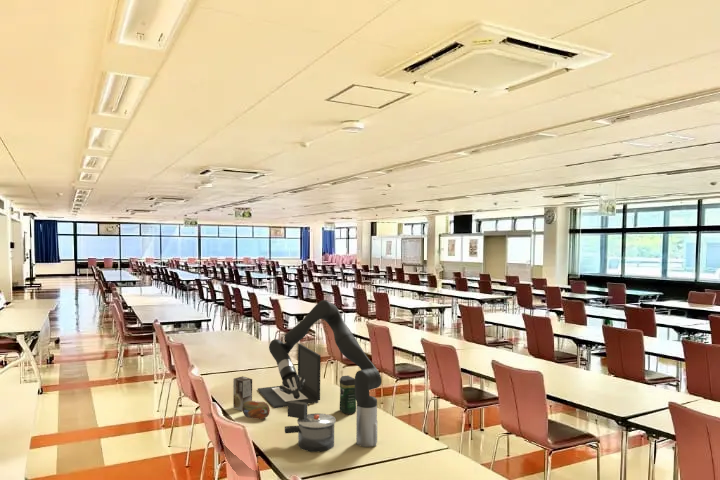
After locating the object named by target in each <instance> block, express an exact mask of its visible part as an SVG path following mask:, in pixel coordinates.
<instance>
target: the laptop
mask: <svg viewBox="0 0 720 480" xmlns="http://www.w3.org/2000/svg"><path fill="white" fill-rule="evenodd" d="M297 375H298V376H299V377H300V378H302V377H304V378H305V383H304V385H303V387H302V389H301V390H299V394H300V397H299V398H298V399H296V398H294V396H293V394H292V393H291V394H287V393H285V392H282V391H280V388H279V386H280V385H276V386H267V387H266V386H265V387H259V388H257V391H258V393H259V394H260V395H261V396H262V397H263V398H264V399H265V400H266V401H267V403H268V404H269V405H271V407H272V408H273V409H278V408H279V409H280V408H288V402H289V401H298V402H305V403H307V405H311V404H316V403H319V401H320V400H321V354H319V353H317V352H315V351H314V350H312V349H310V348H309V347H307V346H305V345H303V344H302V343H297ZM299 383H300V380H299ZM299 383H298V385H299ZM298 385H297V387H298ZM286 388H287V387H286ZM288 389H290V388H288ZM293 389H294V390H295V388H294V387H293Z"/></svg>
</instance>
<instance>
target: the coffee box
mask: <svg viewBox="0 0 720 480" xmlns="http://www.w3.org/2000/svg"><path fill="white" fill-rule="evenodd" d="M232 381H233V382H232V383H233V386H232V387H233V393H232V395H233V407H232V408H233V409H235V410H238V411H242V412H243V410H242V408H243V405H244V403H245V402H247V401H253V379H252V378H250V377H246V376H243V375H242V376H238V377H235V378H233V380H232Z"/></svg>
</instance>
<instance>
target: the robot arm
mask: <svg viewBox="0 0 720 480" xmlns="http://www.w3.org/2000/svg"><path fill="white" fill-rule="evenodd" d="M320 320H323V321H325V322H326V323H327V324H328V326H329V327H330V329H331V330H332V332H333V337H334V342H335V344H336V346H337V348H338V350H339V351H340V353H341V354H342V355H343V356H344V357H345V358H346V359H347V360H349V361H351V362H352V363H353V364H355V365H356V366H358V368H359V369H360V370H358V371H356V373H355V374H354V375H355V376H354V379H355V398H356V423H355V424H356V428H355V429H356V431H355V432H356V433H355V434H356V436H355V437H356V438H355V439H356V442H355V444H356V445H357V446H360V447H364V448H365V447H366V448H367V447H368V448H369V447H370V448H371V447H376V446H377V443H378V400H377V398H376V397H375V396H372V395H370V391H371V390H375V389H377V388H378V389H379V387H381V385H382V376H381V374H380V372H379V370H378V368H377V367H376V366H375V365H374V363H373V362H372V361H371V359H370V358H369V357H368V356H367V354H366V353H365V352H364V350H363V348H362V347H361V345H360V344H359V341H358V340H357V339H356V337H355V335H354V334H353V333H352V331H351V330H350V329H349V327H348V326H347V324H346V323H345V321H344V319H343V317H342V314H341V313H340V310H339V309H338V306H336V305H335V304H334V303H332V302H330V301H328V300H326V299H323V300H320V301H319V302H318V303H316V304H315V305H314V307H312V309H311V310H310V311H309V312H308V313H307V315H305V316H304V317H303V319H302V320H301V321H300V322H299V323H297V324H296V325H295V326H294V327H292V328H291V329H290V330H289V331H288V332H287V333H285V334H284V340H285V342H283V341H282V340H280V339H278V338H274V339H272V340H271V341H270V342H269V345H268V350H269V353H270V354H271V356H272V358H273V359H274V360H275V361H276V365H277V368H278V372H279V376H280V378H281V380H282V381H281V383H282V384H281V385H278V386H279V388H280V391H282V392H285V393H287V394H291V393H292V394H293V396H294V398H296V399H298V398H299V397H300V394H299V390H301V389H302V387H303V385H304V383H305V378H304V377H302V378H300V377H299V376H298V371H297V370H296V368H295V365H294V363H293V360H292V359H291V357H290V355H289V353H290V352H291V351H292V350H293V348H294V346H295V345H297V344H299V342H300V341H301V340H303V339H304V338H305V337H306V335H307V334H308V333H309V331H310V329H311V327H313V325H314V324H315V323H316V322H318V321H320ZM299 380H300V383H299ZM298 383H299V385H298ZM297 385H298V387H297ZM286 387H287V388H286ZM293 387H294V388H295V390H294V389H293ZM288 388H290V389H288Z"/></svg>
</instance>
